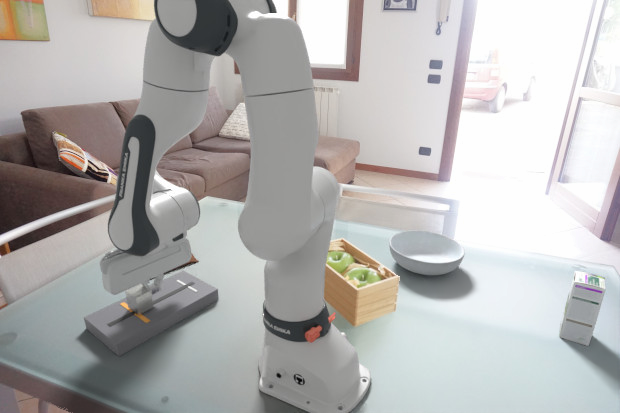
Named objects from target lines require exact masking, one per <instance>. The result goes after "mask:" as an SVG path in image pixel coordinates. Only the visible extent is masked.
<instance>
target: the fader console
mask: <svg viewBox="0 0 620 413" xmlns="http://www.w3.org/2000/svg"><path fill="white" fill-rule="evenodd" d="M160 286H161V291H159V292H157V293H155V294H153V295H152V301H153V308H151V309H149V310H147V311H145V312H143V313H142V314H140V315H138V314H137V313H135V312H134V311H133V310H131V309H130V308H128V304H127V298H126V297H124V298H122V299H120V300H118V301H116V302H114V303H112V304H109V305H107V306H105V307H103V308H101V309H98V310H96V311H94V312H93V313H90V314H88V315H86V316H84V317H83V320H84V324H85V329H86V330H88V331H89V332H90V333H91V334H92V335H93V336H94V337H95V338H97V339H98V340H99V341H101V343H103V344H104V345H105V346H106V347H107V348H108V349H110V350H111V351H112V352H113V353H115V355H117V357H121V356H122V355H124V354H126V353H128V352H129V351H131V350H132V349H133V350H134V348H136V347H138V346H140V345H141V344H143V343H145V342H148V341H149V340H150V339H152V338H154V337H155V336H157V335H159V334H162V332H165V331H166V330H168V329H169V328H171V327H173V326H174V325H177V324H179V323H180V322H182V321H183V320H185V319H187V318H188V317H190V316H192V315H194V314H196V313H198V312H199V311H201V310H202V309H204V308H206V307H208V306H210V305H212V303H215V302H217V301H218V300H219V298H220V297H219V288H217V287H215V286H213V285H211V284H209V283H207V282H206V281H203V279H202V280H201V279H200V278H198V277H196V276H194V275H192V274H190V273H189V272H187V271H185V270H181V271H180V272H179V271H178V272H177V273H175V274H173V275H171V276H169V277H166V278H163V280H162V283H161V285H160Z"/></svg>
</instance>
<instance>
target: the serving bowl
mask: <svg viewBox="0 0 620 413" xmlns="http://www.w3.org/2000/svg"><path fill="white" fill-rule="evenodd" d="M388 242H389V243H388V245H389V251H390V254H391V257H392V258H393V259H394V261H395V263H397V265H399V266H401V267H402V268H404V269H405V270H408V271H410V272H412V273H415V274H420V275H424V276H442V275H445V274H448V273H451V272H452V271H455V270H456V269H457V268H458V267H459V266H460V265H461V263H462V261H463V259H464V257H465V248H464V247H463V245H462V244H461V243H459V241H457V240H456V239H453V238H452V237H450V236H448V235H445V234H443V233H439V232H434V231H430V230H422V229H421V230H419V229H415V230H412V229H411V230H404V231H400V232H397V233H395V234H393V235H392V236H391V237H390V238H389V241H388Z"/></svg>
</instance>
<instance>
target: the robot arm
mask: <svg viewBox="0 0 620 413" xmlns="http://www.w3.org/2000/svg"><path fill="white" fill-rule="evenodd" d="M153 7H154V8H153V9H154V11H153V12H154V16H155V18H154V19H153V20H152V21H151V22H150V24H149V29H148V33H147V36H146V41H145V42H146V43H145V47H144V48H145V49H144V55H143V56H144V57H143V68H142V90H141V95H140V100H139V102H138V106H137V108H136V111H135V113H134V115H133V117H132V118H131V119H130V121H129V122H128V124H127V126H126V129H125V131H124V135H123V141H122V148H121V154H120V159H119V160H120V161H119V166H118V167H119V169H118V174H117V176H116V179H115V180H116V181H115V182H116V183H115V197H114V202H113V205H112V207H111V211H110V213H109V215H108V216H109V217H108V220H107V233H108V236H109V237H108V238H109V240H110V241H111V243H112V244H113V246H114V247H115V248H116V249H115V250H112V251H111V250H110V251H108V252H106V253H104V254H105V255H104V256H103V257H102V258H100V261H99V267H100V271H101V275H102V276H101V277H102V278H101V280H102V286H103V289H104V290H105V291H106V292H107V293H109V294H110V295H112V296H116V295H119V294H121V293H123V292H125V291H126V290H128V289H130V288H133V287H135V286H137V285H139V284H141V285H142V286H144V287H145V288H147V289H149V290H150V291H151V295H153V294H155V293H157V292H159V291H161V286H160V285H161V283H162V280H164V279H165V276H164V275H165V274H166V273H165V272H167V273H169V272H168V271H170V270H172V269H174V268H176V267H179V266H181V265H183V264H185V263H188V262H189V261H190V259H191V257H192V254H193V253H192V248H191V243H190V240H189V239H188V236H187V235H188V231H189V230H191V229H192V228H194V227H195V226H197V224H198V223H199V221H200V217H201V207H200V203H199V201H198V198H197V196H196V195H195V194H194V193H193V191H191V190H190V189H188V188H186V187H184V186H181V185H180V186H178V185H176V184H174V183H171V182H170V181H168V180H167V179H165V178H164V177H162V176H161V175H160V174H159V172H158V170H157V167H158V164H159V162H160V161H161V159H162V158H163V157H164V155H165V154H166V153H167V152H168V151H169V150H170V149H171V148H172V147H173V146H175V145H176V144H177V143H178V142H180V141H181V140H182V139H184V138H185V137H187V136H188V135H190V134H192V133H193V132H194V131H195V130H196V129H198V127H199V126H200V125H201V124H202V122H203V121H204V119H205V116H206V112H207V109H208V103H209V94H210V83H211V82H210V81H211V80H210V78H211V77H210V76H211V68H212V67H211V66H212V64H213V61H214V59H215V58H216V57H221V56H222V55H223V54H226V55H228V56H229V57H230V58H231V59H232V60H233V61H234V62H235V63H236V66H237V68H238V71H239V74H240V80H241V86H242V94H243V100H244V108H245V114H246V122H247V127H248V134H249V140H250V142H249V143H250V144H249V145H250V163H249V172H248V174H249V175H248V183H247V184H248V186H247V193H246V197H245V198H246V199H245V202H244V204H243V208H242V209H241V212H240V215H239V217H238V220H237V230H238V235H239V238H240V240H241V242H242V244H243V246H244V247H245V248H246V250H248V251H249V253H251V254H252V255H253V256H255V257H256V258H258V259H261V260H265V264H264V270H263V273H264V274H263V275H264V276H263V277H264V282H263V283H264V301H263V303H262V323H263V325H264V334H263V335H264V337H263V344H262V348H261V349H262V350H261V354H260V356H259V359H258V370H259V374H260V378H259V383H258V384H259V386H258V388H259V390H260V392H262V393H264V394H266V395H268V396H271V397H272V398H275V399H278V400H281V401H282V402H285V403H287V404H289V405H291V406H294V407H296V408H298V409H300V410H302V411H305V412H307V413H350V412H351V411H353V409H355V408H356V407H357V406H358V405H359V403H360V402H362V400H363V398H365V396H366V394H367V392H368V390H369V388H370V385H371V379H372V378H371V371H370V369H368V368H367V367H366V366H365V365H363V364H361V363H360V360H359V359H360V358H359V355H358V352H357V350H356V348H355V347H354V346H353V345H352V344H351V342H349V339H348V335H347V333H345V332H341V331H340V330H339V329H338V328H337V327H336V326H335V325H334V324H333V321H335V319H336V318H337V316H335V315H336V314H337V313H336V312H333V313H332V314H331V315H330V313H329V309H328V306H327V303H326V301H325V281H326V280H325V279H326V277H325V276H326V265H327V259H328V254H329V250H330V244H331V240H332V234H333V230H334V224H335V223H334V222H335V217H336V211H337V207H338V203H339V200H340V196H341V188H340V184H339V182H338V179H337V178H336V177H335V175H334V174H333V173H332V172H331V171H330V170H328V169H326V168H323V167H321V166H314V164H315V156H316V151H317V147H318V143H319V138H320V134H319V125H318V124H319V123H318V115H317V105H316V103H317V102H316V97H315V87H314V80H313V72H312V66H311V61H310V57H309V52H308V49H307V45H306V41H305V38H304V34H303V31H302V29H301V27H300V25H299V24H298V22H297V21H295V19H293V18H292V17H290V16H287V15H284V14H282V13H278V12H277V9H276V8H277V7H276V6H275V3H274V1H273V0H153ZM191 253H192V254H191ZM170 272H171V271H170ZM164 273H165V274H164ZM154 277H155V278H154ZM153 279H154V280H153ZM150 280H153V283H150Z"/></svg>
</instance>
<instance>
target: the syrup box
mask: <svg viewBox="0 0 620 413" xmlns="http://www.w3.org/2000/svg"><path fill="white" fill-rule="evenodd" d="M573 273H574V274H573V277H572V282H571V283H570V288H569V293H568V295H567V300H566V302H565V305H564V306H565V307H564V310H563V312H562V313H563V314H562V318H561V321H560V324H559V325H560V327H559V337H560V338H561V339H564V340H567V341H569V342H570V341H571V342H573V343H577V344H580V345H583V346H586V347H589V345H590V343H591V339H592V336H593V334H594V330H595V328H596V324H597V321H598V318H599V313H600V310H601V308H602V307H601V306H602V303H603V301H604V296H605V294H606V278H605V277H604V276H600V275H597V274H594V273H590V272H586V271H585V272H584V271H578V270H575V271H574V272H573Z"/></svg>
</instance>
